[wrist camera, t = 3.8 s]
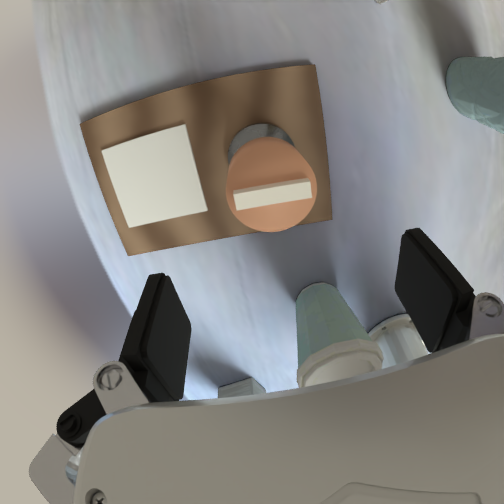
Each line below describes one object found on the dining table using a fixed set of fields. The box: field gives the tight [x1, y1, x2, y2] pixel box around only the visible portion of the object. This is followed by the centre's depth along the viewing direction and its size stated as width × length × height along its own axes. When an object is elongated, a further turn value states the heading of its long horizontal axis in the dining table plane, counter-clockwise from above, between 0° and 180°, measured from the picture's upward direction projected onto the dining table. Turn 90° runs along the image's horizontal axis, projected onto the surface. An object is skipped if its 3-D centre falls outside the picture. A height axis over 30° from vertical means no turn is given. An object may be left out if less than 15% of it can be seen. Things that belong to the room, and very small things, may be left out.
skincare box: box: [218, 377, 266, 398], centre depth 48 cm, size 8×7×16 cm
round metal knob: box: [228, 123, 295, 165], centre depth 26 cm, size 7×7×7 cm
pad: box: [102, 124, 208, 228], centre depth 30 cm, size 10×10×1 cm
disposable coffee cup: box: [296, 282, 384, 388], centre depth 35 cm, size 11×11×15 cm
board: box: [80, 64, 332, 256], centre depth 30 cm, size 26×18×1 cm
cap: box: [226, 137, 317, 232], centre depth 21 cm, size 6×6×5 cm
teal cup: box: [446, 57, 504, 134], centre depth 19 cm, size 10×10×12 cm
